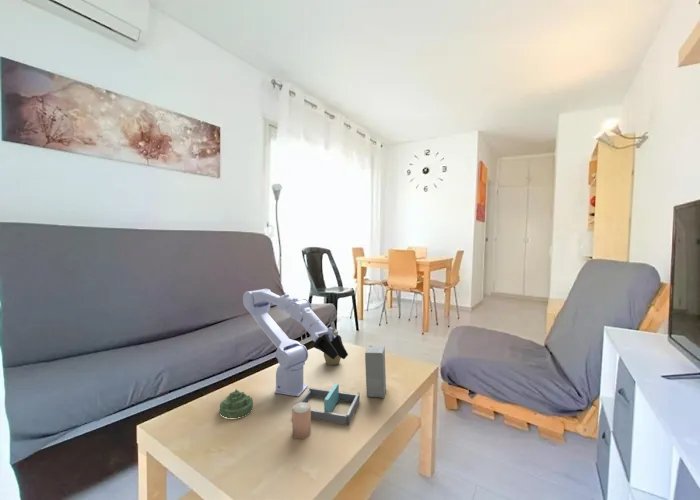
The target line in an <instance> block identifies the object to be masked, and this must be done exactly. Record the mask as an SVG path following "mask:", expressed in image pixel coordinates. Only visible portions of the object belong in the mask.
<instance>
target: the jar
mask: <svg viewBox="0 0 700 500" xmlns="http://www.w3.org/2000/svg"><path fill="white" fill-rule="evenodd" d="M299 402H300V401H299ZM299 402H297V403H295V404H294V405H293V407H292V409H291V412H292V417H291V418H292V420H291V421H292V422H291V423H292V425H291V428H292V430H291V431H292V436H293V438H295V439H298V440H300V439H301V440H302V439H303V440H304V439H306V438H308V437H310V435H311V434H312V430H311V429H312V427H311V426H312V424H311V423H312V422H311V421H312V419H311V409H312V408H311V405H310V404H309V403H308V402H306V403H305V402H300V403H299Z"/></svg>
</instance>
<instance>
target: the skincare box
mask: <svg viewBox="0 0 700 500" xmlns="http://www.w3.org/2000/svg"><path fill="white" fill-rule="evenodd" d="M385 348H386V347H385V346H384V345H368V346H367V348H366V350H365V352H364V362H365V382H366V383H365V384H366V385H365V387H366V397H373V398H382V399H384V398H385V397H386V391H387V382H386V381H387V380H386V379H387V375H386V350H385Z"/></svg>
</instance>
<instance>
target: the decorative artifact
mask: <svg viewBox="0 0 700 500" xmlns="http://www.w3.org/2000/svg"><path fill="white" fill-rule="evenodd" d="M228 394H229V395H228V396H226V398H225V399H224V400H222V401H221V402H220V403H219V415H220V414H221V415H222V416H224V417H227V418H238V417H242V416H244V417H246V416H248V415H249V414H250V413H251V412H252V411H253V409H252V408H254V407H253V403H254V401H253V398H252V397H251V396H250V395H247V394H246V393H245V392H244V391H242V392H241V391H239V390H238V388H236V389H235V391H232V392H229V393H228ZM251 410H252V411H251ZM248 413H249V414H248ZM247 414H248V415H247ZM245 415H246V416H245ZM242 418H243V417H242ZM238 419H239V418H238Z"/></svg>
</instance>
